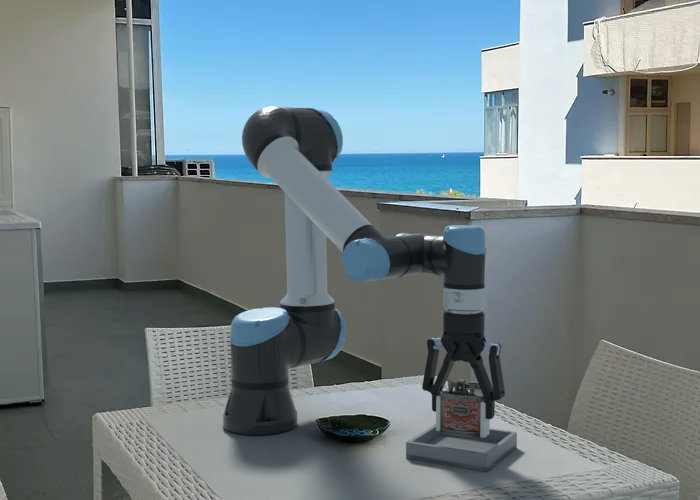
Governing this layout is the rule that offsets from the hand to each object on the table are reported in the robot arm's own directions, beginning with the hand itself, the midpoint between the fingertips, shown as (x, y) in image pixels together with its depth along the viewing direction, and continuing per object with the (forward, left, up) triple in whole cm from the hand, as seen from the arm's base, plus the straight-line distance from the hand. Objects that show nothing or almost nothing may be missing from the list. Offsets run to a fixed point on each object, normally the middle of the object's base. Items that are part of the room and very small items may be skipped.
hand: (462, 432), depth 171 cm
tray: (0, 0, -4) cm, 4 cm away
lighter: (0, 0, 0) cm, 0 cm away
